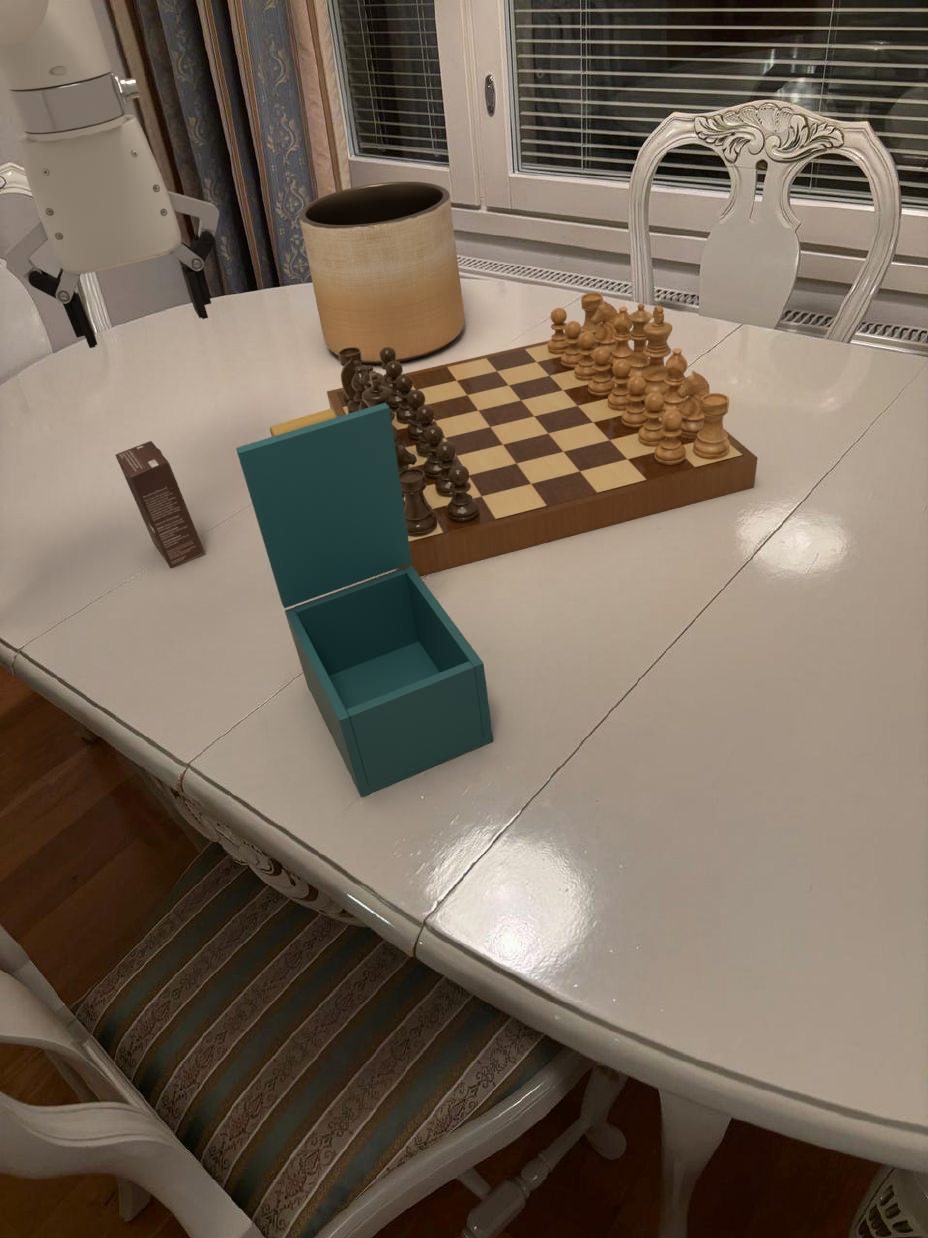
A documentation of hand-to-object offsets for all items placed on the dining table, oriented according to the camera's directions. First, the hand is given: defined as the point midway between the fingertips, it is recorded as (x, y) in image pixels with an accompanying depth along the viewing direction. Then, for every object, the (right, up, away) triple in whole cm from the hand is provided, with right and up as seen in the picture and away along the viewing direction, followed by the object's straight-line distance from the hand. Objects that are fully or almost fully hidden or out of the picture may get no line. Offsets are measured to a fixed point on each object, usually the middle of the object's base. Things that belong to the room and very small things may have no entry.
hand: (147, 327), depth 78 cm
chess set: (+35, -5, +31) cm, 47 cm away
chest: (+22, -34, -2) cm, 40 cm away
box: (-4, -18, +21) cm, 28 cm away
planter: (+17, +18, +61) cm, 66 cm away
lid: (+18, -17, -8) cm, 26 cm away
